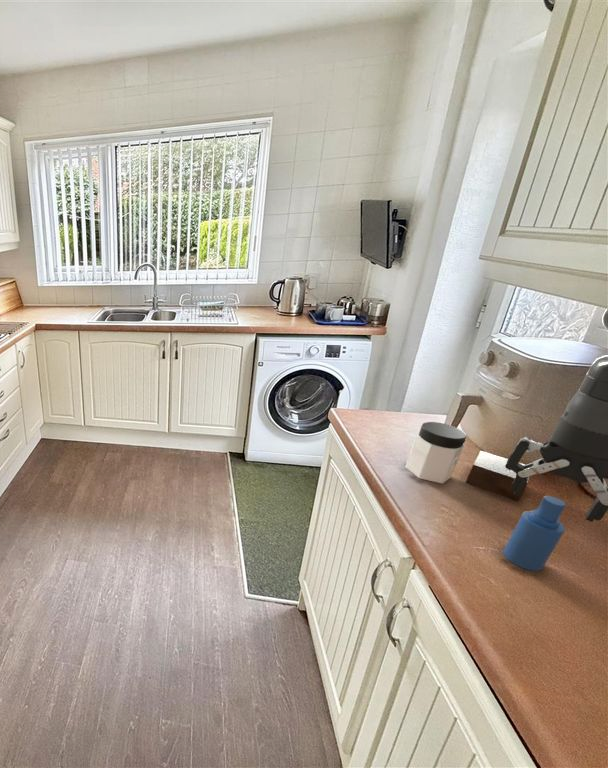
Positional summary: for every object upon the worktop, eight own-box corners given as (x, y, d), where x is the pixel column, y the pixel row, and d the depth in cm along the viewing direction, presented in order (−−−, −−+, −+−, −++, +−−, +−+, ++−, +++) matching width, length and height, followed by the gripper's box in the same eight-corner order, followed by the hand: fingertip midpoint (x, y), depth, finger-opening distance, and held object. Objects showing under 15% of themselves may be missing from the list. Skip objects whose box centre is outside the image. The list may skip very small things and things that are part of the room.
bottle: (543, 560, 73) (578, 501, 68) (541, 576, 70) (576, 515, 65) (505, 544, 77) (534, 487, 72) (500, 558, 74) (531, 499, 69)
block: (523, 484, 94) (532, 466, 92) (518, 501, 88) (527, 482, 86) (473, 467, 100) (480, 450, 98) (465, 482, 95) (473, 464, 93)
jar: (439, 487, 93) (457, 443, 88) (400, 470, 99) (414, 427, 94) (455, 475, 97) (473, 432, 92) (416, 459, 103) (431, 418, 99)
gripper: (671, 432, 60) (615, 517, 66) (535, 400, 70) (498, 477, 76) (676, 450, 55) (615, 540, 62) (531, 413, 65) (491, 494, 72)
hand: (551, 505), depth 69 cm, fingers open, 8 cm apart
